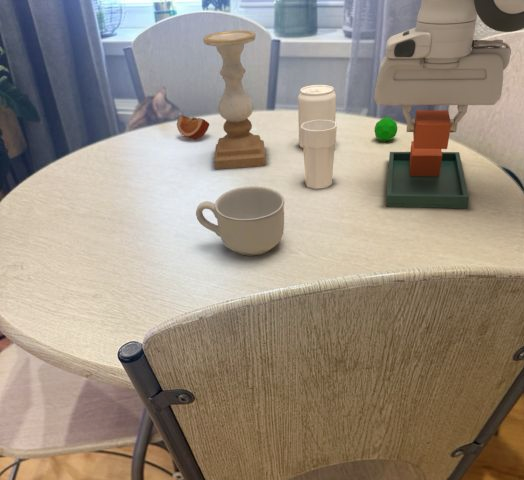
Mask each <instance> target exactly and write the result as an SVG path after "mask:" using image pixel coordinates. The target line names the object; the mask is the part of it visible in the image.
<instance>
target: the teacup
mask: <svg viewBox="0 0 524 480" xmlns="http://www.w3.org/2000/svg"><path fill="white" fill-rule="evenodd" d="M204 210H210V211H211V212H212V213H213V215H214V217H215V219H216V221H217V224H215V223H214V222H211V221H209V220H208V219H207V218H206V217H205V216H204V214H203V211H204ZM195 216H196V219H197V221H198V222H199V224H200V225H201V226H202V227H204V228H206V229H208V230H209V231H211V232H213V233H215V235H216V236H217V237H219V238H220V240H221V241H222V243H223V245H224V246H225V247H226V248H228V249H229V250H231V251H233V252H234V253H237V254H240V255H242V256H247V257H248V256H250V257H251V256H252V257H253V256H260V255H263V254H265V253H268V252H269V251H270V250H271V249H273V248H274V247H275V246H277V245H278V244H279V243H280V241H281V240H282V238H283V235H284V230H285V198H284V195H282V194H281V193H280V191H277V190H275V189H273V188H271V187H266V186H259V185H255V186H254V185H253V186H251V185H250V186H241V187H236V188H233V189H229V190H228V191H226V192H224V193H222V194H221V195H220V196H219V197H218V198H217V199H216V201H215V203H214V202H212V201H208V200H207V201H202V202H201V203H199V204H198V205H197V208H196V211H195Z"/></svg>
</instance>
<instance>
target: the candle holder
mask: <svg viewBox="0 0 524 480" xmlns="http://www.w3.org/2000/svg"><path fill="white" fill-rule="evenodd" d="M202 39H203V40H202V41H203V43H204V45H207V46H211V47H216V50H217V53H218V54H219V55H220V56H221V59H222V66H221V69H220V70H219V75H220V76H222V79H223V81H224V83H225V88H224V91H223V94H222V96H221V97H220V100H219V103H218V113H219V115H220V117H221V118H222V119H224V120H225V122H224V123H223V126H222V127H223V131H224V132H225V135H224V136H223V137H219V138H218V140H217V144H215V148H214V150H215V152H214V160H213V161H214V168H215V170H225V169H237V168H238V169H239V168H240V169H241V168H250V167H263V166H266V165H267V162H266V149H265V141H264V140H262V139H261V136H260V135H259V134H253V133H251V132H250V131H251V130H252V127H253V125H252V122H251V121H250V119H249V118H250V117H251V115H252V114H253V113H254V103H253V101H252V99H251V97H250V96H249V95H248V93H247V92H246V89H245V88H244V86H243V78H244V75H245V73H246V69H245V67H244V66H243V64H242V62H241V55H242V52H243V51H244V49H245V45H246V44H248V43H251V42H254V41H255V40H256V32H254V31H250V30H226V31H219V32H213V33H209V34H207V35H205V36H204V37H203V38H202Z"/></svg>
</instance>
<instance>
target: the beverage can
mask: <svg viewBox="0 0 524 480" xmlns="http://www.w3.org/2000/svg"><path fill="white" fill-rule="evenodd" d="M334 90H335V88H334V87H333V86H332V85H327V84H311V85H307V86H303V87H301V88H300V89H299V94H298V96H297V111H298V112H297V115H298V145H299V146H300V148H302V149H303V144H302V138H301V125H302V124H303V123H305V122H308V121H312V120H330V121H334V122H335V123H336V120H337V119H336V116H337V115H336V113H337V112H336V111H337V110H336V109H337V95H336V92H335V91H334Z"/></svg>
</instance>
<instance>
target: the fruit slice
mask: <svg viewBox="0 0 524 480" xmlns="http://www.w3.org/2000/svg"><path fill="white" fill-rule="evenodd" d="M209 127H210V123H209V122H208V121H207V120H206V119H204V118H200V117H194V116H192V117H189V116H187V115H181V114H180V115H179V114H178V118H177V122H176V128H177V130H178V132H179V133H180V135H182V136H183V137H185V138H187V139H189V140H197V139H200V138H202V137H203V136H204V135H205V134H206V133H207V132H208V130H209Z"/></svg>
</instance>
